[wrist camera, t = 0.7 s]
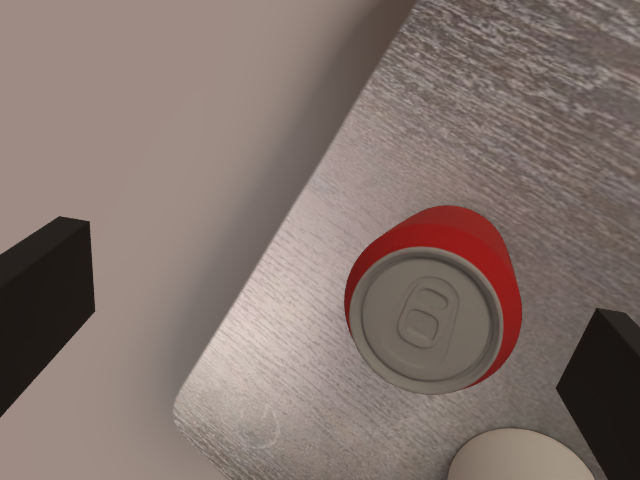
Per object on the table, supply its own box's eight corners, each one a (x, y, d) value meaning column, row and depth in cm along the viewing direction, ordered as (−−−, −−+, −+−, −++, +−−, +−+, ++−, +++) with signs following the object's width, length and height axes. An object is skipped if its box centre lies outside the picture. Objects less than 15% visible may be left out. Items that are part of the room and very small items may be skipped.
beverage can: (375, 286, 29) (306, 359, 18) (416, 186, 27) (368, 198, 16) (478, 334, 27) (474, 448, 16) (529, 230, 25) (564, 278, 14)
